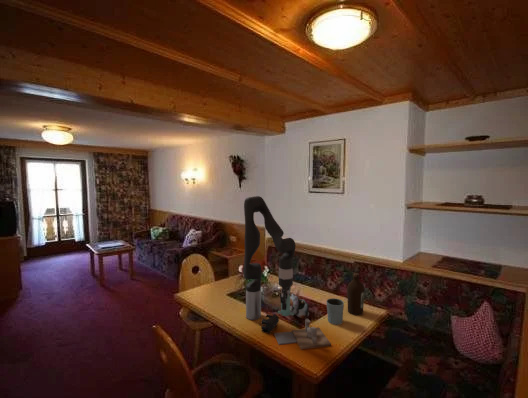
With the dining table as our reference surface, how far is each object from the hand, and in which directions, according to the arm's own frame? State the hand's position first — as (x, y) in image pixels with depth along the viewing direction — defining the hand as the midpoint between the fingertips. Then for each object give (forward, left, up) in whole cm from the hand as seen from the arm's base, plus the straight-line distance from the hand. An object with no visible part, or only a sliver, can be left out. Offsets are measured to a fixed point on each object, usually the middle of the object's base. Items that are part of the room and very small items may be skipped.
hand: (285, 307), depth 149 cm
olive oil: (-20, +52, -17) cm, 58 cm away
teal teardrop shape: (0, 0, -4) cm, 4 cm away
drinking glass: (-12, +34, -17) cm, 40 cm away
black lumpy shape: (-11, -6, -17) cm, 22 cm away
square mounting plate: (+3, +13, -17) cm, 22 cm away
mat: (0, 0, -17) cm, 17 cm away
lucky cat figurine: (-24, +15, -17) cm, 34 cm away
